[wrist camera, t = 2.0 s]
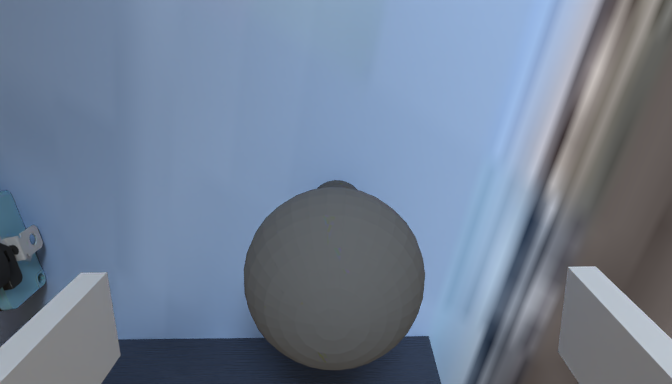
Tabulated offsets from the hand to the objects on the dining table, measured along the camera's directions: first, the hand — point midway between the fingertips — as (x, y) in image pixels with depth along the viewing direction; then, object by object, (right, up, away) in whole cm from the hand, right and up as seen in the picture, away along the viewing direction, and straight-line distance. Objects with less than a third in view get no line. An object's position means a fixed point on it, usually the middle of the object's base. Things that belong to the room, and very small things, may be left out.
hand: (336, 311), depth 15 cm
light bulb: (0, +3, +8) cm, 9 cm away
